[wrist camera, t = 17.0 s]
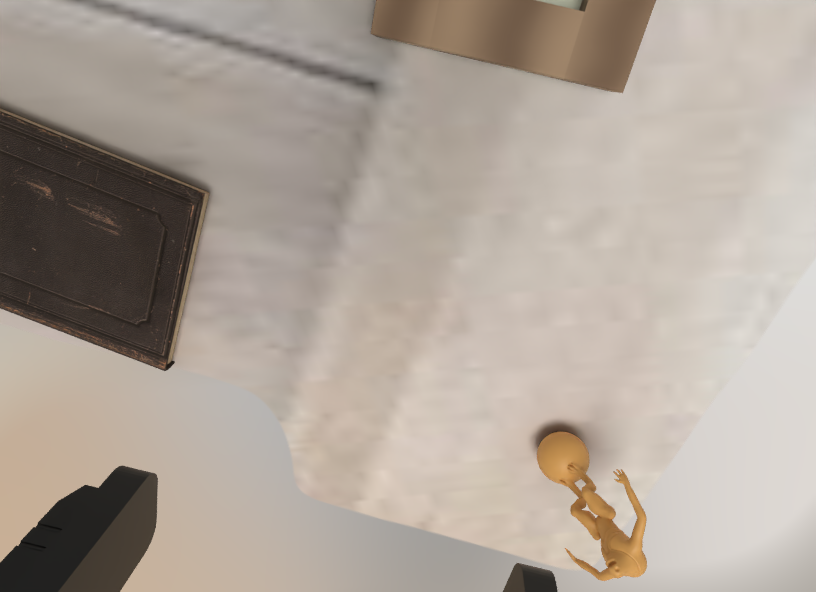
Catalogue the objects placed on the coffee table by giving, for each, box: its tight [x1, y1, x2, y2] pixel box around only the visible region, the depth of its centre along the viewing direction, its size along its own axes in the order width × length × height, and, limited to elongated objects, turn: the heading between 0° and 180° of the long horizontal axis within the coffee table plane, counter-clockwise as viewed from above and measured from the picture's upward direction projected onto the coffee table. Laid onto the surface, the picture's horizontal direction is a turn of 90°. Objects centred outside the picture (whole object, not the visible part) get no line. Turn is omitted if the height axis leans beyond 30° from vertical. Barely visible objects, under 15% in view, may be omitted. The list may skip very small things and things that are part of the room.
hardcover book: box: [0, 109, 209, 371], centre depth 40 cm, size 16×23×2 cm
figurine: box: [537, 432, 647, 581], centre depth 37 cm, size 8×6×12 cm
